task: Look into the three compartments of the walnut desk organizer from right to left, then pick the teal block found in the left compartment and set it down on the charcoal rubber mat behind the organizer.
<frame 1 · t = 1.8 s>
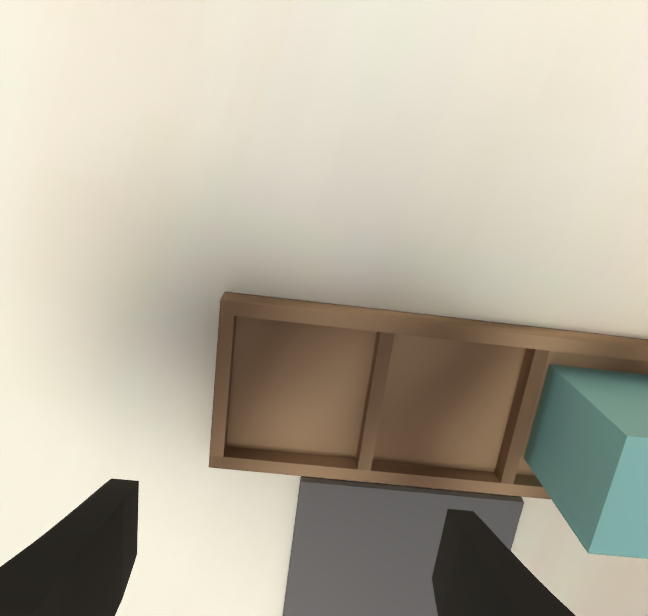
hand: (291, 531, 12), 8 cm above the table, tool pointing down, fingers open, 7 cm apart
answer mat: (394, 576, 22), on the table
teal block: (586, 417, 20), resting on organizer
organizer: (443, 399, 20), on the table
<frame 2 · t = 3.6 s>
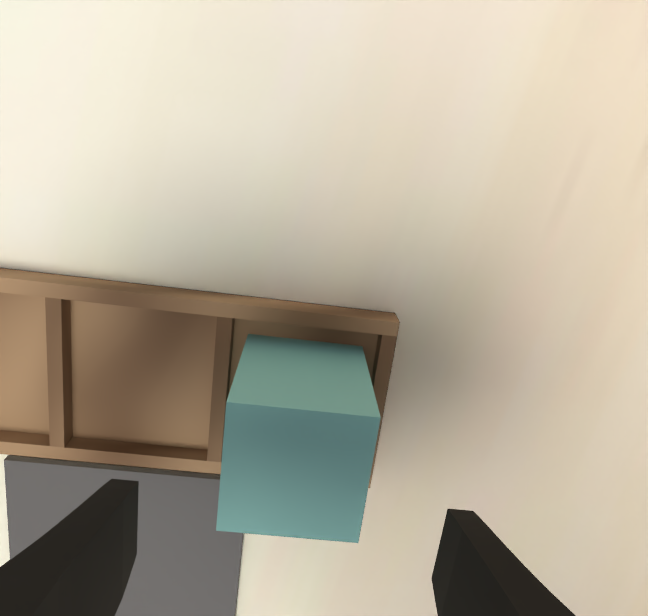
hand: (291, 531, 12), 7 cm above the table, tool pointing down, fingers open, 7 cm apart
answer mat: (128, 561, 21), on the table
teal block: (299, 391, 19), resting on organizer
organizer: (146, 372, 19), on the table
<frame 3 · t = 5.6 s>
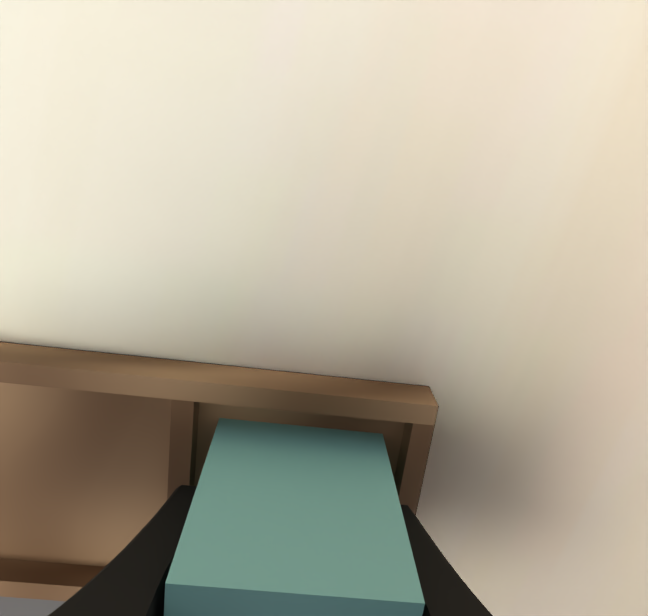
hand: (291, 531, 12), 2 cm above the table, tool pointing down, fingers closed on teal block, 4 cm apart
teal block: (292, 495, 13), resting on organizer, touching gripper
organizer: (77, 468, 13), on the table
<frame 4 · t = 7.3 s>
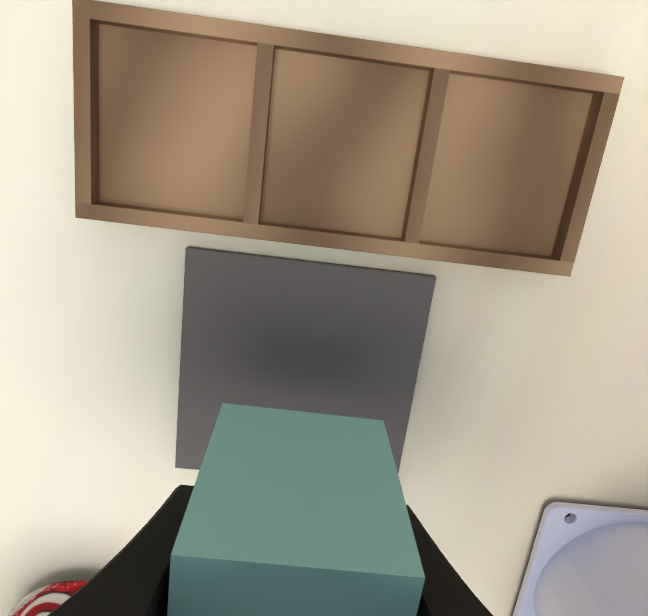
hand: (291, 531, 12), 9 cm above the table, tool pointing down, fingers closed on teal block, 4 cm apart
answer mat: (299, 374, 20), on the table
teal block: (294, 480, 14), point 7 cm above the table, touching gripper
organizer: (341, 148, 18), on the table
when the fingers open (3 cm above the table, at t = 9.1 s): teal block drops 1 cm, resting on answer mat.
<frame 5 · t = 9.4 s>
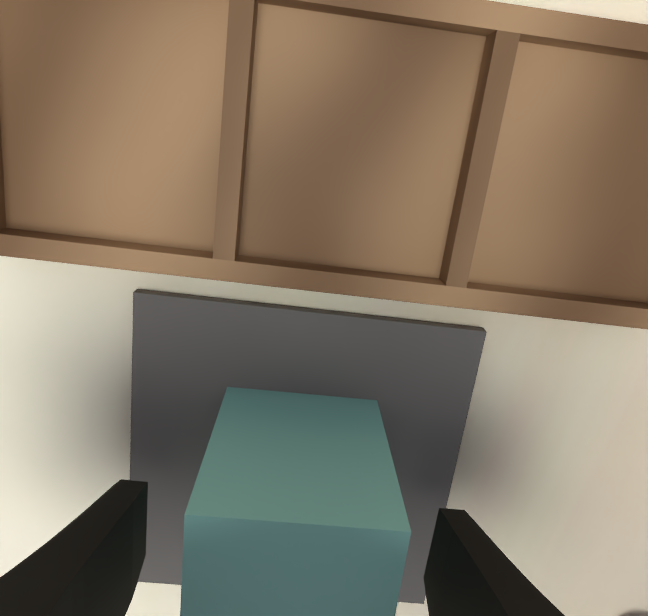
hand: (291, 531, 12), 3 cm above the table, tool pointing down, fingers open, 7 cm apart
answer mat: (294, 458, 15), on the table
teal block: (295, 458, 15), resting on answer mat
organizer: (354, 151, 12), on the table
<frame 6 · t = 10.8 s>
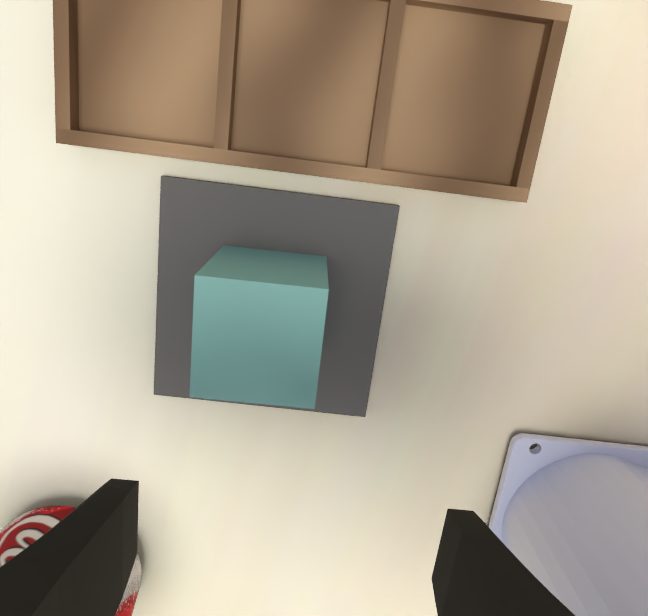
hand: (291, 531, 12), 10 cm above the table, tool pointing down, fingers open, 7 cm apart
soda can: (77, 551, 25), on the table
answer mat: (270, 302, 21), on the table
teal block: (271, 300, 21), resting on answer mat
organizer: (307, 79, 19), on the table
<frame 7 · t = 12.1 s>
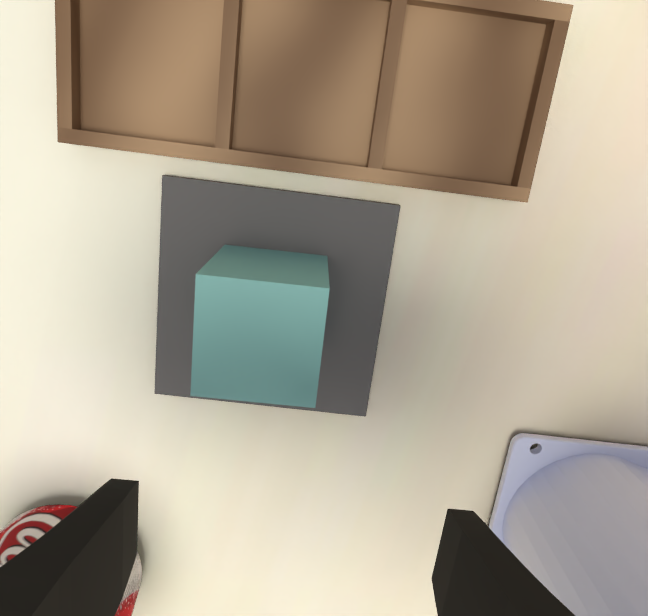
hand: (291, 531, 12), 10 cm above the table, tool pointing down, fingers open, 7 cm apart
soda can: (78, 550, 25), on the table
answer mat: (271, 302, 21), on the table
teal block: (271, 299, 21), resting on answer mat
organizer: (308, 79, 19), on the table
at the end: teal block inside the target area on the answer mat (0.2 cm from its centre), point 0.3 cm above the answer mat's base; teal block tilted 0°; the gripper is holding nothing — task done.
